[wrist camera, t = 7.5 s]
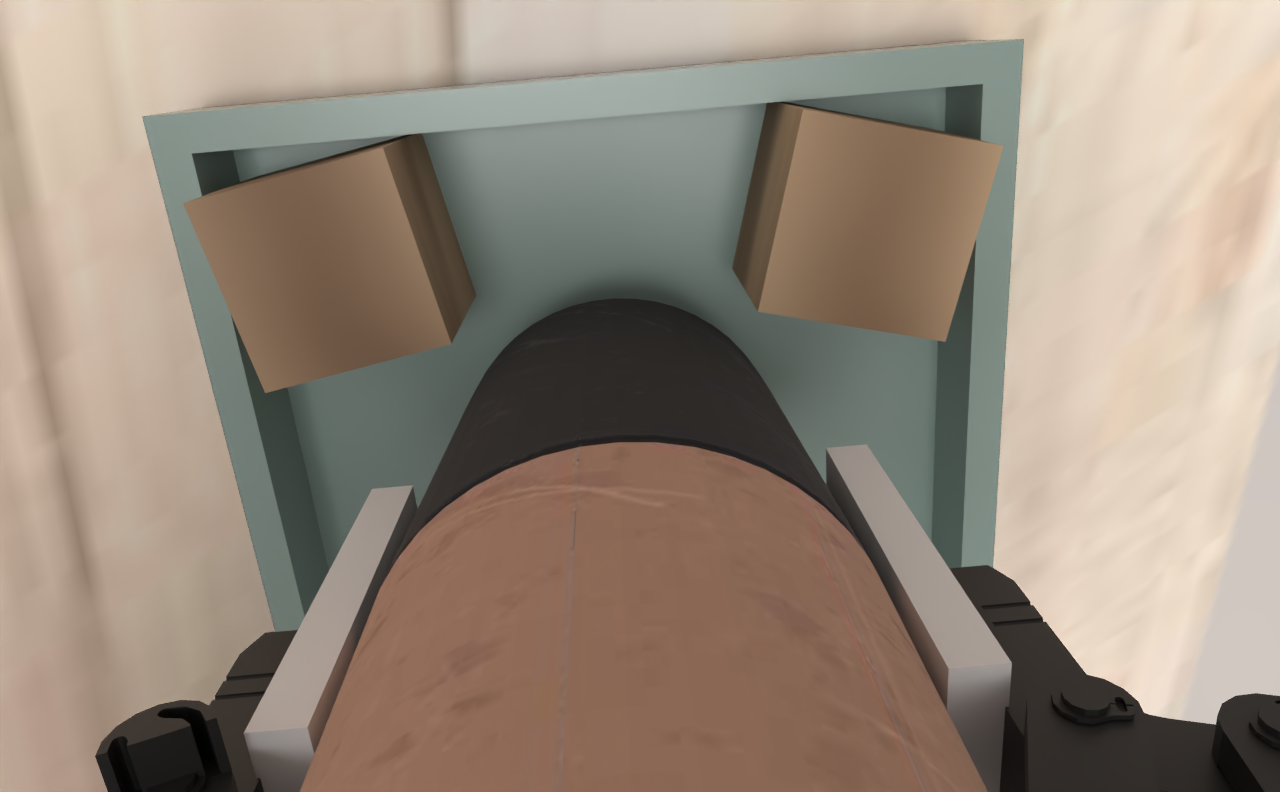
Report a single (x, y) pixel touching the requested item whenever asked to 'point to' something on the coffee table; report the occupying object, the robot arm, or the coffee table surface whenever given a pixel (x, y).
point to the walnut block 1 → (337, 261)
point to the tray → (606, 276)
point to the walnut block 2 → (861, 220)
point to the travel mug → (633, 594)
